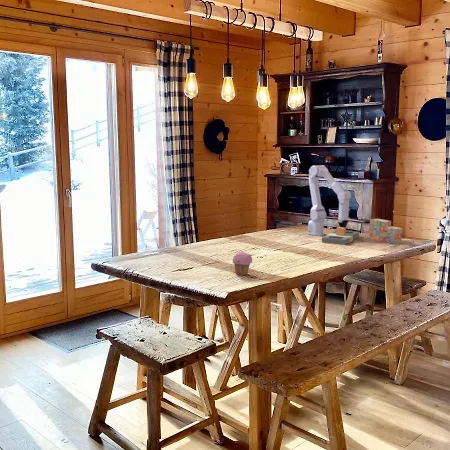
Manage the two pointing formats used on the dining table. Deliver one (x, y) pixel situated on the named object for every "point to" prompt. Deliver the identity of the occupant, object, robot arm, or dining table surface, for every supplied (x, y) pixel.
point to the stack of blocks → (385, 231)
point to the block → (341, 231)
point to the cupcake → (242, 263)
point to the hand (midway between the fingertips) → (342, 232)
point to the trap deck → (340, 238)
